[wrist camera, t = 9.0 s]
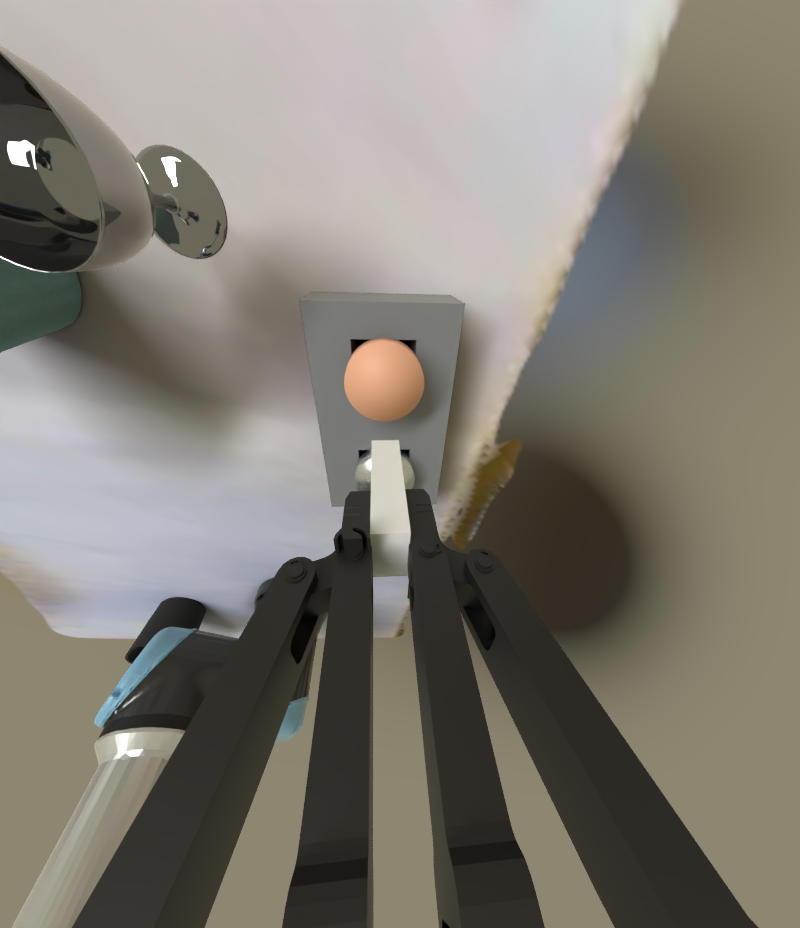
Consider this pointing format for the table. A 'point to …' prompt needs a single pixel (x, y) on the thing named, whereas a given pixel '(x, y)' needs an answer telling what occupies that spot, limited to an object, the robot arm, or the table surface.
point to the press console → (329, 350)
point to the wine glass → (90, 184)
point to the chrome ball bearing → (364, 471)
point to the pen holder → (168, 621)
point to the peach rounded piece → (384, 379)
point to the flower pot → (35, 303)
